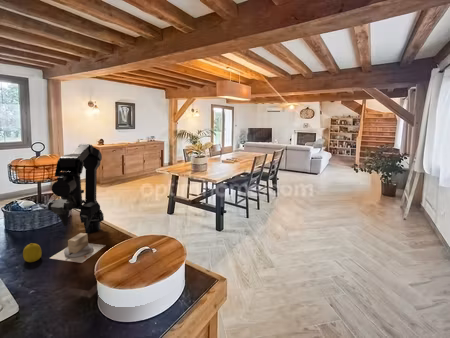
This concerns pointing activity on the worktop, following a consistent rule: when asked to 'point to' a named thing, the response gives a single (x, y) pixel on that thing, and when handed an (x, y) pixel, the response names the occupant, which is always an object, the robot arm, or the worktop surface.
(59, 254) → the dial plate
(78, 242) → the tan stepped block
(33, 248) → the lemon
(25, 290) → the worktop surface
